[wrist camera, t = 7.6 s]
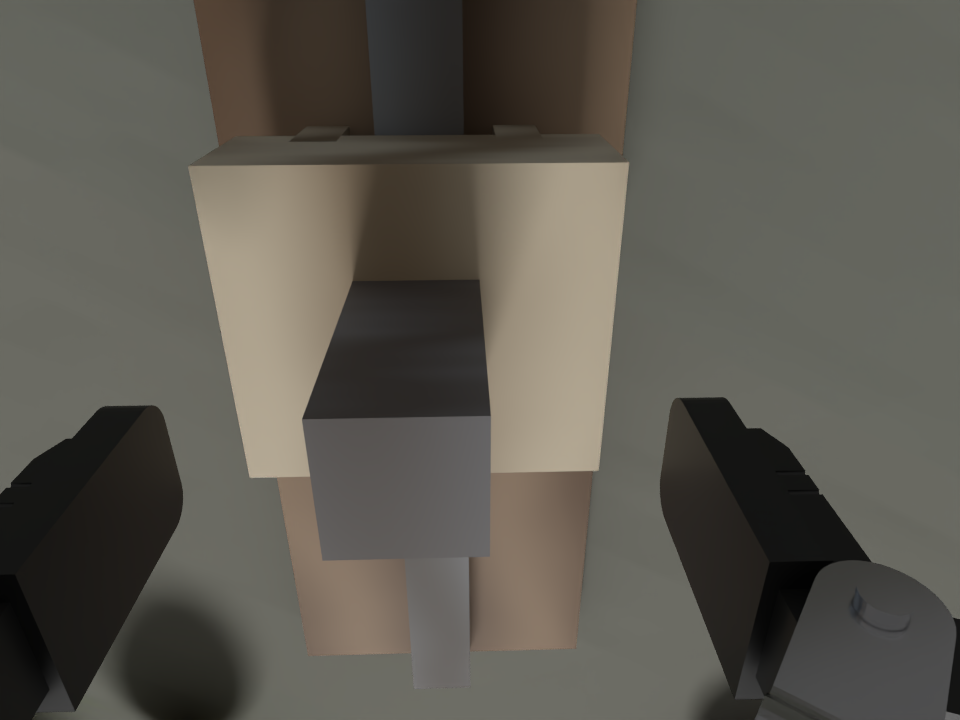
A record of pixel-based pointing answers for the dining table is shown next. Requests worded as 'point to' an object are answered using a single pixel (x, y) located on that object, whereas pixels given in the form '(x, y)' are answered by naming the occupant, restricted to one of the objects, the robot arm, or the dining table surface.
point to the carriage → (414, 319)
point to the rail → (504, 91)
